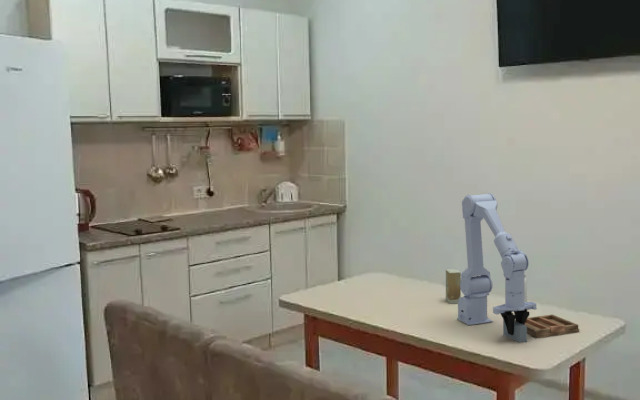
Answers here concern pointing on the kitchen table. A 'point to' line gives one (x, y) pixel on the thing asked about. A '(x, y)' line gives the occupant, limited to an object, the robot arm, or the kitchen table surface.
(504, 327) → the blue-gray rectangular block
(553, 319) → the rack
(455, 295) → the skincare box
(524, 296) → the can
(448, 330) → the kitchen table surface
